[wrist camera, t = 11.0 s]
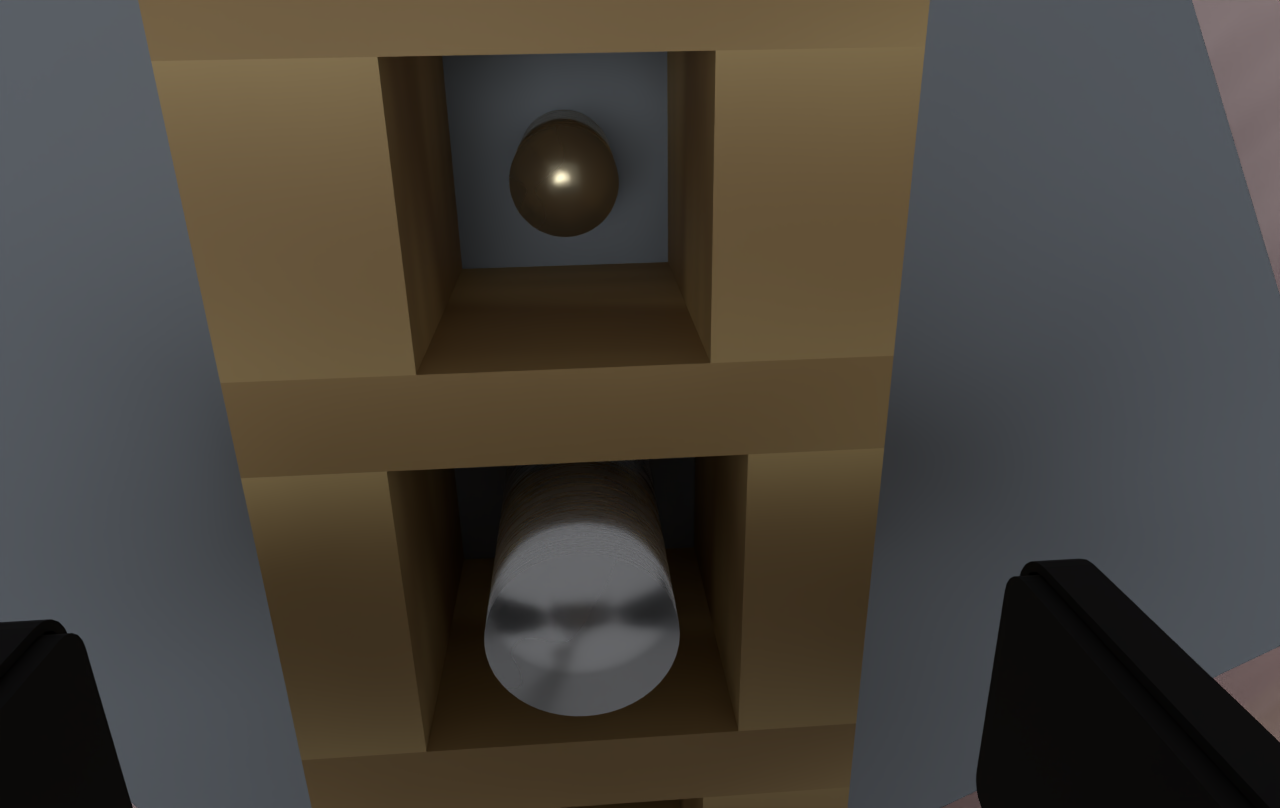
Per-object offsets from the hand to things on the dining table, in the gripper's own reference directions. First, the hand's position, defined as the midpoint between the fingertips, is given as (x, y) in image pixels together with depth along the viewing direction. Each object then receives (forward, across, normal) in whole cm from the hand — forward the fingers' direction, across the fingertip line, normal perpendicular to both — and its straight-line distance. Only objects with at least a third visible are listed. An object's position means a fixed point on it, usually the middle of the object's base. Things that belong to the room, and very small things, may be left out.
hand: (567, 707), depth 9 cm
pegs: (+5, 0, -1) cm, 5 cm away
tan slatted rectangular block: (+5, 0, -1) cm, 5 cm away
